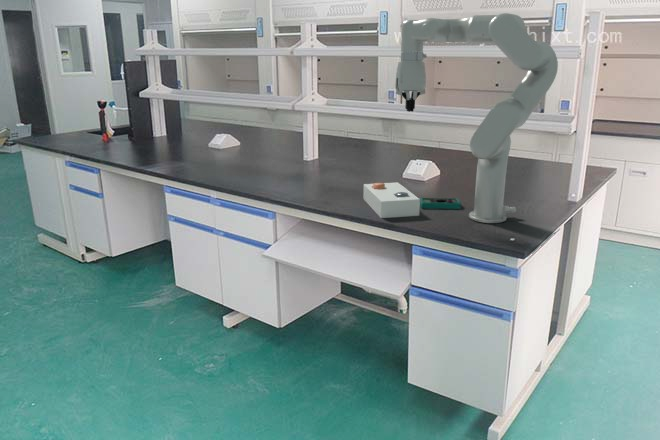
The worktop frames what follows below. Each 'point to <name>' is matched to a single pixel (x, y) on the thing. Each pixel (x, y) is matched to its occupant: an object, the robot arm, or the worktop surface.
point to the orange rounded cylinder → (378, 186)
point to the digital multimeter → (440, 203)
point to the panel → (391, 201)
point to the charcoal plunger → (401, 194)
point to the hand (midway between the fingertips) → (409, 111)
